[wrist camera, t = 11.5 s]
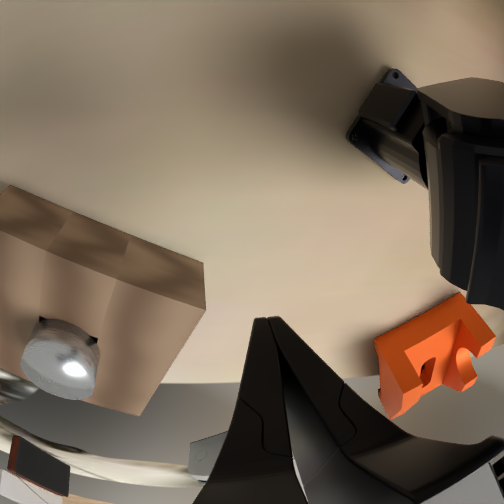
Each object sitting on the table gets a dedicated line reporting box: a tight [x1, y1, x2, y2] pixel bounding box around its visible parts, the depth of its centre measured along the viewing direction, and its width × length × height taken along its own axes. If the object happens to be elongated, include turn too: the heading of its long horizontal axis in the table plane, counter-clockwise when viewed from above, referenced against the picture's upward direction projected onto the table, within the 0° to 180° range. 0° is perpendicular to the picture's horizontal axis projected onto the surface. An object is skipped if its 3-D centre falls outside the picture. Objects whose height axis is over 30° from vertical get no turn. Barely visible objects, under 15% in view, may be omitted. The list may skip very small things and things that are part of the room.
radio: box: [7, 436, 70, 504], centre depth 37 cm, size 19×3×15 cm, turn 13°
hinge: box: [188, 431, 228, 485], centre depth 37 cm, size 17×5×10 cm, turn 123°
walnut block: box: [0, 185, 206, 416], centre depth 21 cm, size 16×16×5 cm
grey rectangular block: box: [0, 469, 62, 504], centre depth 63 cm, size 32×11×11 cm, turn 20°
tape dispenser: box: [374, 292, 496, 420], centre depth 33 cm, size 18×13×8 cm
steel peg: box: [20, 319, 100, 400], centre depth 19 cm, size 6×6×8 cm
